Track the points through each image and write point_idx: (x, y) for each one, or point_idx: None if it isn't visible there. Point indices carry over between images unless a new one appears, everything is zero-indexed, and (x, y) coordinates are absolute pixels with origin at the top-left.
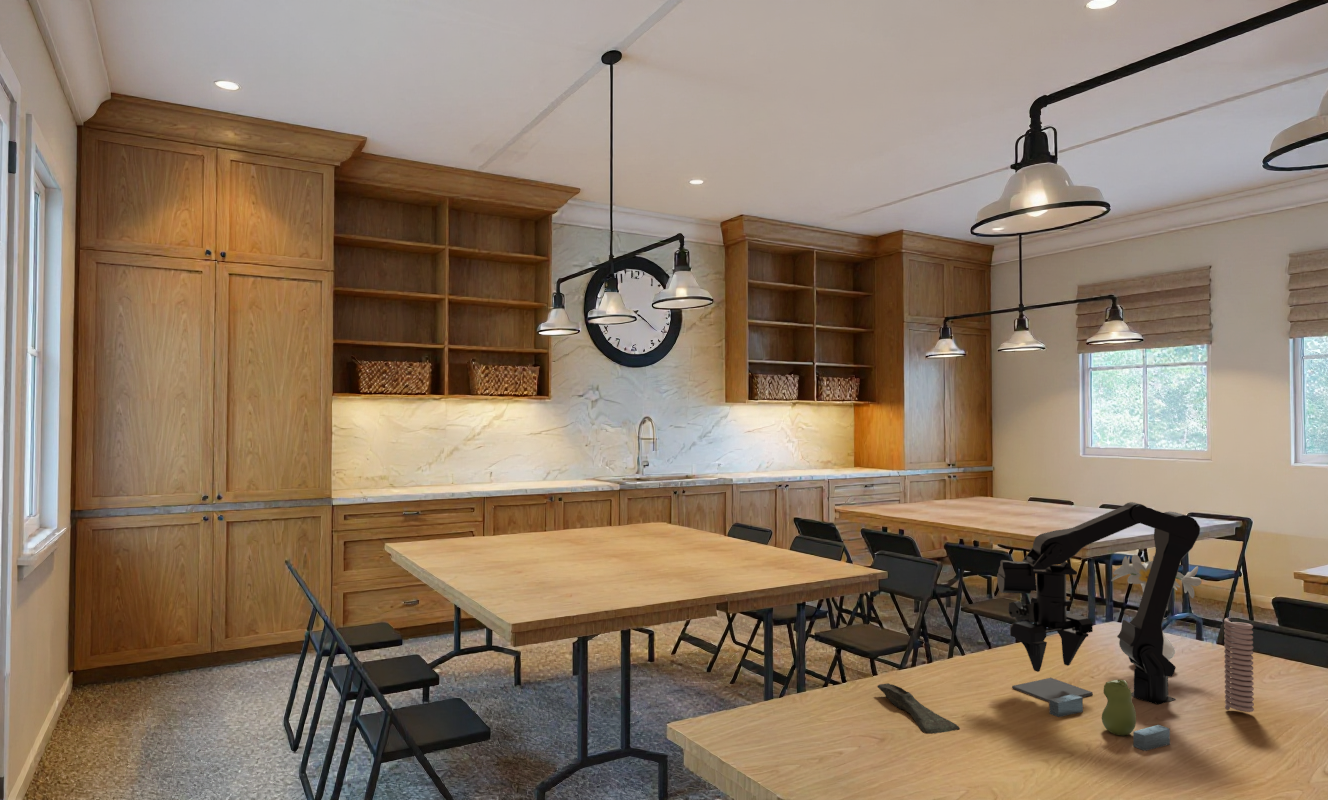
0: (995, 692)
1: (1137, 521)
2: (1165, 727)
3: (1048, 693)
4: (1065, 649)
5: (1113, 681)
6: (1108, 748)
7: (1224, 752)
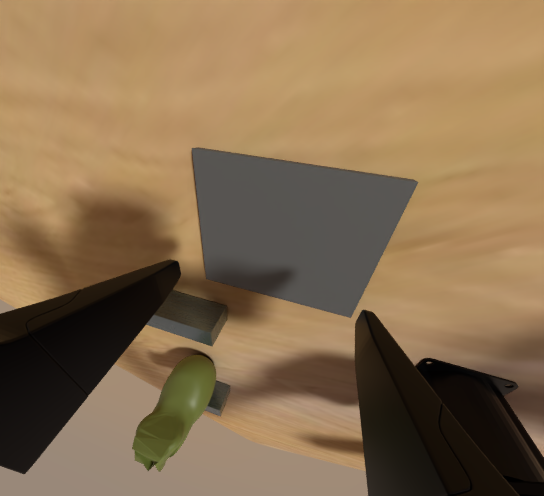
0: (128, 136)
1: None
2: (219, 414)
3: (240, 253)
4: (382, 401)
5: (147, 456)
6: (161, 354)
7: (264, 419)
